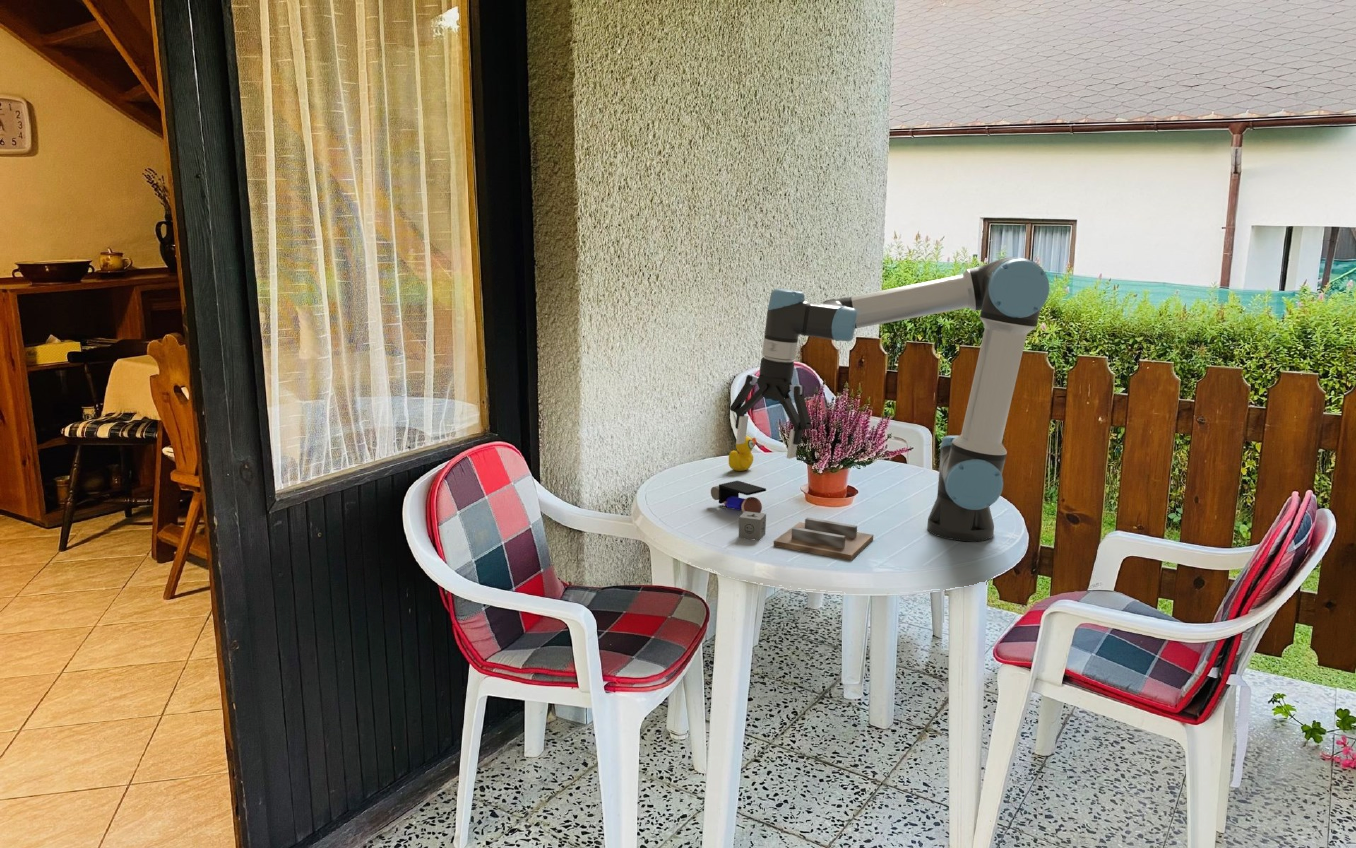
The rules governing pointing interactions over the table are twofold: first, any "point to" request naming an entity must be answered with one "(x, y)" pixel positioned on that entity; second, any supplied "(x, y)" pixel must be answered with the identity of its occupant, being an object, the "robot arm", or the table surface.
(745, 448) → the duckling
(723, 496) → the figurine character
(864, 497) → the table surface
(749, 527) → the dice cube
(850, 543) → the cradle
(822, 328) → the robot arm
